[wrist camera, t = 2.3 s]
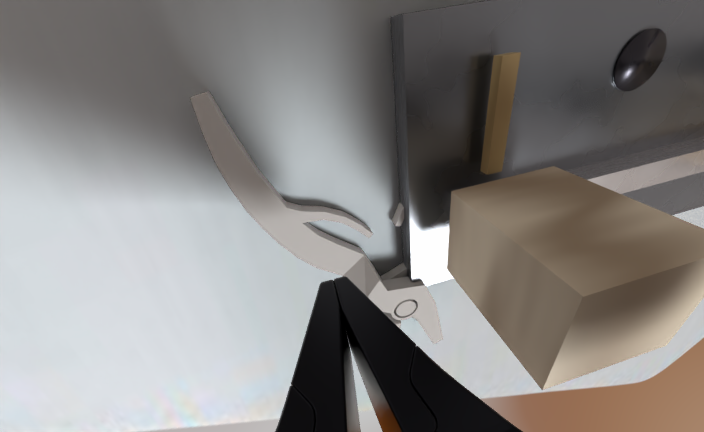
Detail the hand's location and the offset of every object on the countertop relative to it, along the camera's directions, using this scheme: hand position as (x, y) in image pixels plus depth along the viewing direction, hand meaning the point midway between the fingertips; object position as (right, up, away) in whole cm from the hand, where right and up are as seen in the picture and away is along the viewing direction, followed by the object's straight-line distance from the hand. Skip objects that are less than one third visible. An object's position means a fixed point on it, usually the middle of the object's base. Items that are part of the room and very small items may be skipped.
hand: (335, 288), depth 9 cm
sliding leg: (+6, +4, +2) cm, 7 cm away
